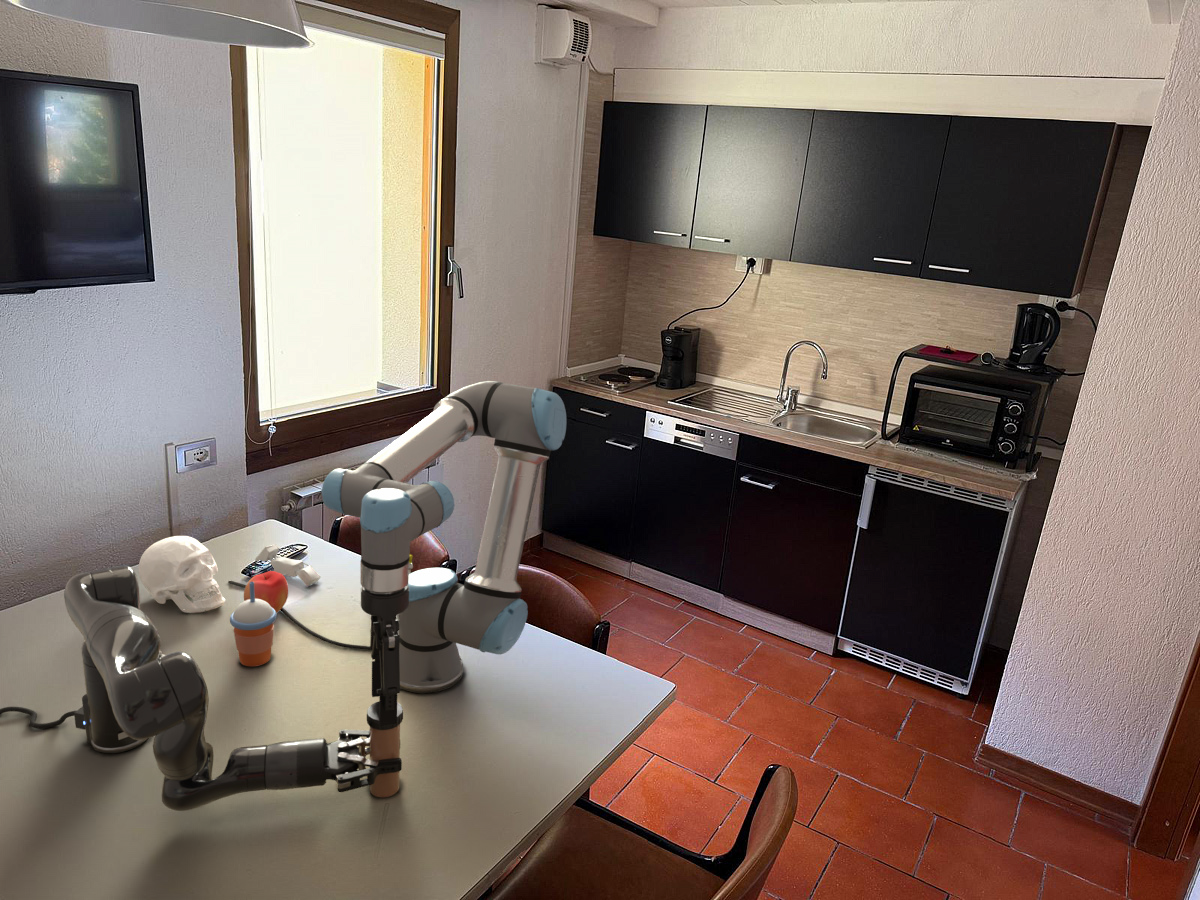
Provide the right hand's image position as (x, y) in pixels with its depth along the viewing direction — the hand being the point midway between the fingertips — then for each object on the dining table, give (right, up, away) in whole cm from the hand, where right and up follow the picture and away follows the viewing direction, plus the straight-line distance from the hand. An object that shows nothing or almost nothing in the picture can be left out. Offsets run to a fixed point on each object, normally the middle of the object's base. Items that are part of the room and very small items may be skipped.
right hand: (383, 708), depth 143 cm
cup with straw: (-38, -2, +40) cm, 54 cm away
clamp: (-45, +11, +77) cm, 90 cm away
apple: (-42, +5, +58) cm, 72 cm away
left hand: (+2, -9, +4) cm, 10 cm away
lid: (0, -1, +1) cm, 1 cm away
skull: (-63, +7, +61) cm, 88 cm away
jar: (-1, -15, +5) cm, 16 cm away
